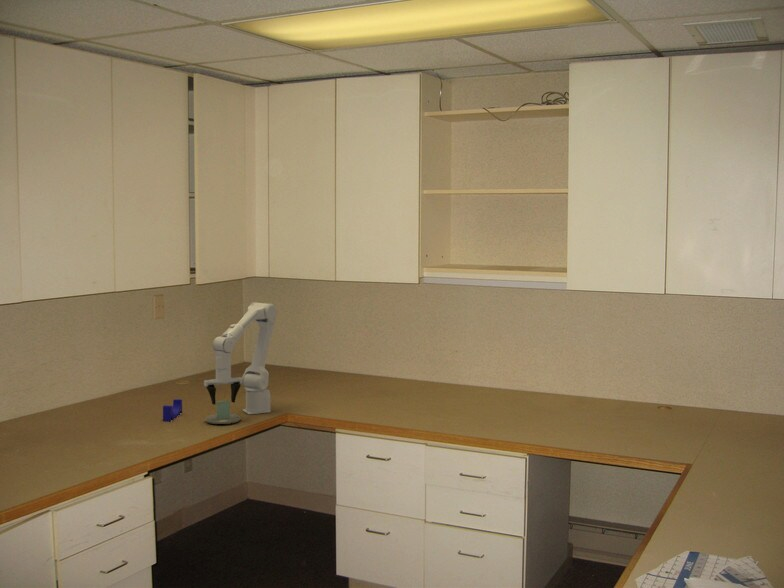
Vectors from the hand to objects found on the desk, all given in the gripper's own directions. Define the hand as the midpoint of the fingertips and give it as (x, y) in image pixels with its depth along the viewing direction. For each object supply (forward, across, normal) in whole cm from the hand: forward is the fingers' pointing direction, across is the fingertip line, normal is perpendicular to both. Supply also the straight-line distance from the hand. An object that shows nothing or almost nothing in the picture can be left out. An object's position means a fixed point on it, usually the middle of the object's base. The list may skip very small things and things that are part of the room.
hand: (223, 403), depth 306 cm
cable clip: (+8, +16, -15) cm, 23 cm away
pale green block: (+6, 0, 0) cm, 6 cm away
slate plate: (+7, 0, 0) cm, 7 cm away
